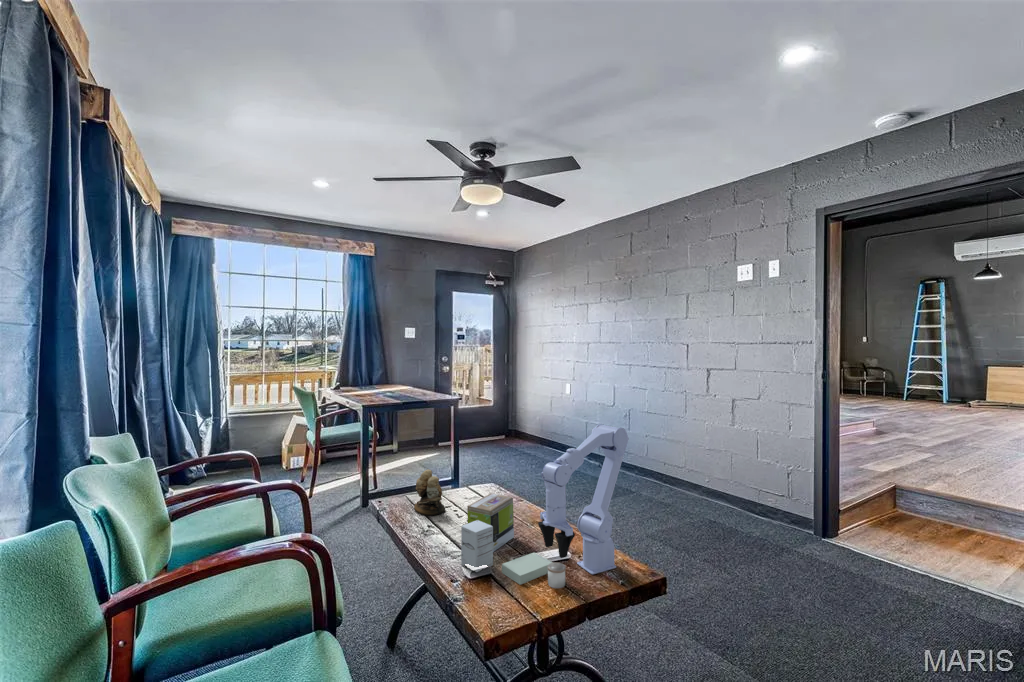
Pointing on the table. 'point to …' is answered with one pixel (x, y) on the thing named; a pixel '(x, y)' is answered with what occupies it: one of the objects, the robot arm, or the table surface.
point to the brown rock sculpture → (429, 495)
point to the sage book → (526, 568)
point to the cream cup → (556, 575)
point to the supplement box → (477, 544)
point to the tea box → (494, 516)
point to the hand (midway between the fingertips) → (556, 551)
